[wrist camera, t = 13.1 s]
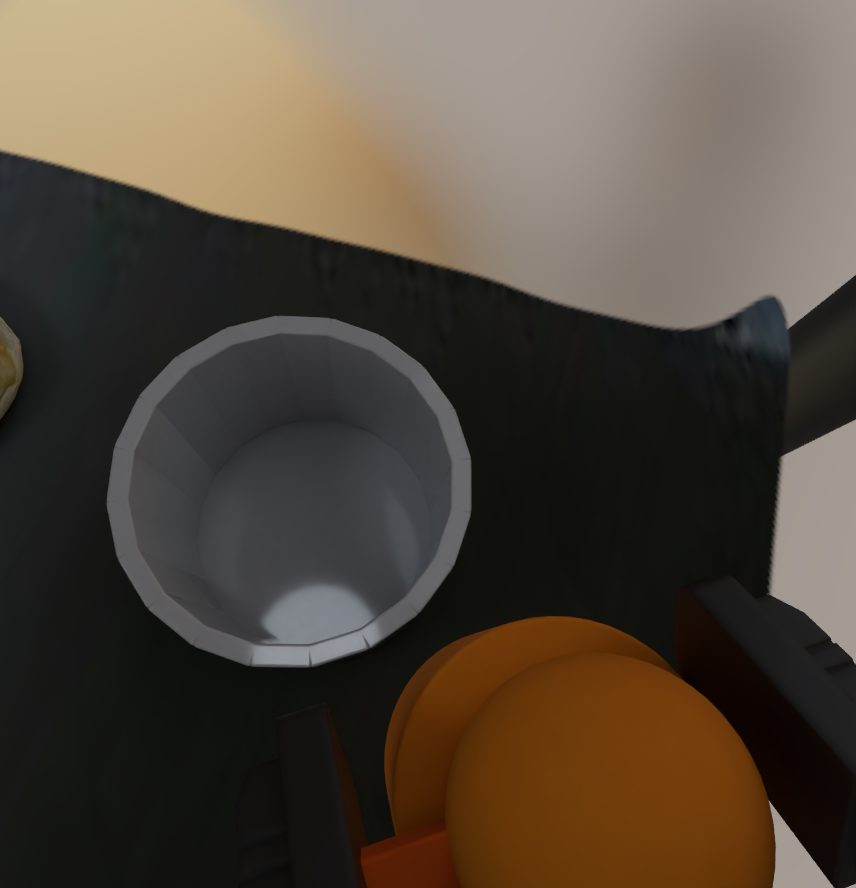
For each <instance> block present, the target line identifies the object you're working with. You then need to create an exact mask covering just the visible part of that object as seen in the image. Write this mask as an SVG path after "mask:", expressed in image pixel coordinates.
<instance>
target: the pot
mask: <svg viewBox="0 0 856 888" xmlns="http://www.w3.org/2000/svg"><path fill="white" fill-rule="evenodd" d="M139 397H140V398H138V399H137V401H136V403H135V405H134V407H133V409H132V411H131V413H130V415H129V417H128V419H127V421H126V424H125V426H124V428H123V430H122V432H121V434H120V436H119V438H118V440H117V442H116V444H115V448H114V451H113V458H112V465H111V472H110V479H109V487H108V494H107V502H108V503H107V510H108V515H109V520H110V525H111V530H112V535H113V540H114V545H115V550H116V555H117V558H119V559H118V560H119V563H120V564H121V566H122V568H123V569H124V571H125V573H126V574H127V576H128V578H129V579H130V581H131V583H132V584H133V586H134V588H135V589H136V591H137V593H138V594H139V596H140V598H141V599H142V601H143V603H144V604H145V606H146V607H147V608H148V609H149V611H151V612H152V613H153V614H154V615H155V616H157V617H158V618H159V619H160V620H162V621H163V622H164V623H165V624H166V625H168V626H169V627H170V628H171V629H173V630H174V631H175V632H176V633H177V634H179V635H180V636H181V637H182V638H184V639H185V640H186V641H187V642H188V643H190V644H191V645H194V646H195V647H196V648H199V649H202V650H205V651H208V652H210V653H213V654H216V655H219V656H221V657H224V658H227V659H230V660H233V661H235V662H238V663H241V664H244V665H246V666H252V667H295V668H310V667H318V666H325V665H332V664H335V663H338V662H341V661H345V660H348V659H351V658H354V657H357V656H360V655H364V654H367V653H369V652H370V651H373V650H375V649H376V648H378V647H379V646H380V645H382V644H383V643H385V642H386V641H387V640H389V639H390V638H391V637H393V636H394V635H396V634H397V633H398V632H400V631H401V630H403V629H404V628H405V627H406V626H407V625H408V624H409V623H410V622H411V621H412V620H413V619H414V618H415V617H416V616H417V615H418V614H419V613H420V612H421V611H422V609H423V608H424V607H425V605H426V604H427V603H428V601H429V600H430V598H431V597H432V596H433V594H434V593H435V592H436V590H437V589H438V588H439V586H440V585H441V584H442V582H443V581H444V579H445V578H446V577H447V575H448V574H449V573H450V571H451V570H452V567H453V566H454V565H455V562H456V559H457V555H458V552H459V549H460V546H461V543H462V540H463V537H464V534H465V531H466V528H467V525H468V522H469V519H470V516H471V514H470V513H471V460H470V459H471V456H470V453H469V450H468V447H467V444H466V441H465V438H464V435H463V432H462V429H461V426H460V423H459V420H458V417H457V414H456V411H455V409H454V408H453V406H452V404H451V403H450V402H449V400H448V399H447V398H446V396H445V395H444V393H443V392H442V391H441V389H440V388H439V387H438V385H437V384H436V383H435V381H434V380H433V379H432V377H431V376H430V374H429V373H428V372H427V370H426V369H425V368H424V367H423V366H422V365H421V364H420V363H418V362H417V361H416V360H414V359H413V358H412V357H410V356H409V355H407V354H406V353H405V352H403V351H402V350H401V349H399V348H398V347H396V346H395V345H394V344H392V343H391V342H390V341H388V340H387V339H385V338H384V337H383V336H381V337H380V335H378V334H375V333H373V332H370V331H367V330H364V329H361V328H358V327H355V326H352V325H349V324H346V323H344V322H341V321H338V320H335V319H330V318H317V317H295V316H278V317H277V316H273V317H269V318H265V319H261V320H257V321H253V322H249V323H245V324H241V325H236V326H232V327H228V328H225V330H221V331H220V332H218V333H216V334H214V335H213V336H211V337H209V338H207V339H206V340H204V341H202V342H201V343H199V344H197V345H195V346H194V347H192V348H190V349H188V350H187V351H185V352H183V353H181V354H180V355H179V356H178V357H175V358H174V359H173V360H172V361H171V362H170V364H169V365H168V366H167V367H166V368H165V369H164V370H163V371H162V372H161V373H160V374H159V375H158V376H157V377H156V378H155V379H154V380H153V381H152V383H151V384H150V385H149V386H148V387H147V388H146V389H145V390H144V391H143V392H142V393H141V394H140V395H139Z"/></svg>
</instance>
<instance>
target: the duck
mask: <svg viewBox="0 0 856 888" xmlns="http://www.w3.org/2000/svg"><path fill="white" fill-rule="evenodd" d="M384 767H385V780H386V787H387V793H388V798H389V803H390V808H391V814H392V819H393V824H394V830H395V834H396V836H394V837H392V838H389V839H386V840H383V841H381V842H378V843H375V844H372V845H369V846H367V847H364V848H361V859H360V860H361V865H362V869H363V873H364V877H365V881H366V885H367V888H772V887H773V880H774V872H775V850H776V849H775V848H776V847H775V834H774V824H773V819H772V814H771V810H770V805H769V800H768V796H767V793H766V790H765V787H764V784H763V781H762V778H761V775H760V773H759V771H758V769H757V767H756V764H755V762H754V760H753V758H752V756H751V754H750V752H749V751H748V749H747V748H746V746H745V744H744V743H743V741H742V739H741V738H740V736H739V735H738V734H737V732H736V731H735V730H734V728H733V727H732V726H731V725H730V723H729V722H728V721H727V719H726V718H725V717H724V716H723V714H722V713H721V712H720V711H719V710H718V709H717V708H716V707H715V706H714V705H713V704H712V703H711V702H710V701H709V700H708V699H707V698H706V697H704V696H703V695H702V694H701V693H699V692H698V691H697V690H696V689H695V688H693V687H692V686H691V685H689V684H687V683H686V682H685V681H684V680H683V679H682V677H681V676H680V675H679V674H678V673H677V672H676V671H675V670H674V669H673V668H672V667H671V666H670V665H669V664H668V663H667V662H666V661H665V660H664V659H663V658H662V657H660V656H659V655H658V654H657V653H655V652H654V651H653V650H652V649H650V648H649V647H648V646H646V645H645V644H643V643H641V642H640V641H638V640H637V639H635V638H633V637H632V636H630V635H628V634H626V633H624V632H621V631H619V630H617V629H615V628H613V627H610V626H607V625H604V624H601V623H597V622H594V621H591V620H586V619H580V618H574V617H559V616H546V617H536V618H528V619H524V620H520V621H516V622H512V623H508V624H504V625H501V626H498V627H495V628H491V629H488V630H485V631H482V632H478V633H475V634H472V635H469V636H467V637H464V638H462V639H459V640H457V641H455V642H453V643H451V644H450V645H448V646H446V647H444V648H443V649H441V650H440V651H439V652H437V653H436V654H435V655H433V656H432V657H431V658H430V659H429V660H428V661H427V662H426V663H425V664H424V665H423V666H421V667H420V668H419V669H418V671H417V672H416V673H415V675H414V676H413V677H412V678H411V680H410V681H409V682H408V684H407V686H406V687H405V689H404V691H403V692H402V694H401V696H400V698H399V700H398V702H397V705H396V707H395V709H394V711H393V714H392V718H391V721H390V724H389V728H388V732H387V739H386V745H385V761H384Z"/></svg>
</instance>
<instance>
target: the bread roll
mask: <svg viewBox="0 0 856 888" xmlns="http://www.w3.org/2000/svg"><path fill="white" fill-rule="evenodd" d="M22 377H23V359H22V352H21V344H20V341H19V339H18V338H17V337H16V335H15V334H14V332H13V331H12V330H11V329H10V328H9V327H8V325H7V324H6V323H5V322H4V320H3V319H2V318H1V317H0V419H1V418H2V417H3V416H4V414H5V413H6V411H7V410H8V409H9V407H10V405H11V403H12V402H13V400H14V398H15V397H16V394H17V391H18V388H19V386H20V383H21V381H22Z"/></svg>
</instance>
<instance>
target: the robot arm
mask: <svg viewBox="0 0 856 888" xmlns="http://www.w3.org/2000/svg"><path fill="white" fill-rule="evenodd" d="M675 659H676V664H677V668H678V671H679V674H680V676H681V677H682V679H683V680H684V681H685V682H686V683H687V684H689V685H691V686H692V687H693V688H695V689H696V690H697V691H698V692H699V693H701V694H702V695H703V696H704V697H706V698H707V699H708V700H709V701H710V702H711V703H712V704H713V705H714V706H715V707H716V708H717V709H718V710H719V711H720V712H721V713H722V714H723V716H724V717H725V718H726V719H727V721H728V722H729V723H730V725H731V726H732V727H733V728H734V730H735V731H736V732H737V734H738V735H739V736H740V738H741V739H742V741H743V743H744V744H745V746H746V748H747V749H748V751H749V752H750V754H751V756H752V758H753V760H754V762H755V764H756V767H757V769H758V771H759V773H760V775H761V778H762V781H763V784H764V787H765V790H766V793H767V796H768V800H769V801H770V802H771V804H772V805H773V806H774V808H775V809H776V810H777V812H778V813H779V814H780V816H781V817H782V818H783V820H784V821H785V822H786V824H787V825H788V826H789V828H790V829H791V830H792V832H793V833H794V835H795V836H796V837H797V838H798V840H799V841H800V843H801V844H802V845H803V847H804V848H805V849H806V851H807V852H808V853H809V855H810V856H811V857H812V859H813V860H814V861H815V863H816V864H817V865H818V867H819V868H820V869H821V871H822V872H823V873H824V875H825V876H826V877H827V879H828V880H829V881H830V883H831V884H832V885H833V887H834V888H846V887H849V886H851V885H854V884H856V664H855V663H854V662H853V659H852V658H851V657H850V656H849V655H848V654H847V653H846V652H845V651H844V650H843V649H842V648H841V647H840V646H839V645H838V644H837V643H833V642H832V641H831V638H830V637H829V636H828V635H827V634H826V633H825V632H824V631H823V630H822V629H821V628H820V627H819V626H818V625H817V624H816V623H815V622H814V621H812V620H811V619H810V618H809V617H808V616H807V615H806V614H805V613H804V612H802V611H800V610H798V609H796V608H794V607H792V606H790V605H788V604H786V603H784V602H782V601H780V600H779V599H776V598H775V597H773V596H771V595H767V596H764V597H761V598H758V599H754V598H753V597H752V596H751V595H750V594H749V593H748V592H747V591H746V590H745V589H744V588H743V587H742V586H741V585H740V584H739V583H738V582H737V581H736V580H735V579H734V578H733V577H732V576H730V575H729V574H726V573H720V574H717V575H714V576H711V577H708V578H705V579H702V580H699V581H696V582H693V583H690V584H687V585H684V586H681V587H679V588H678V589H677V590H676V595H675ZM276 728H277V737H278V747H279V756H280V758H278V759H275V760H272V761H269V762H266V763H263V764H260V765H257V766H254V767H251V768H249V769H248V772H247V774H246V777H245V780H244V783H243V786H242V788H241V791H240V794H239V797H238V800H237V803H236V805H235V811H236V834H237V846H238V852H237V856H238V876H239V880H240V884H239V888H367V885H366V881H365V877H364V873H363V869H362V865H361V860H360V859H361V848H364V847H367V846H368V845H367V840H366V835H365V830H364V826H363V821H362V816H361V811H360V806H359V802H358V798H357V794H356V790H355V786H354V782H353V779H352V775H351V772H350V768H349V765H348V762H347V760H346V757H345V754H344V751H343V748H342V745H341V742H340V739H339V736H338V734H337V731H336V728H335V725H334V722H333V719H332V716H331V713H330V710H329V708H328V705H327V703H326V702H323V703H320V704H317V705H314V706H311V707H308V708H305V709H302V710H299V711H296V712H293V713H290V714H287V715H284V716H281V717H278V718H277V720H276Z"/></svg>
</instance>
